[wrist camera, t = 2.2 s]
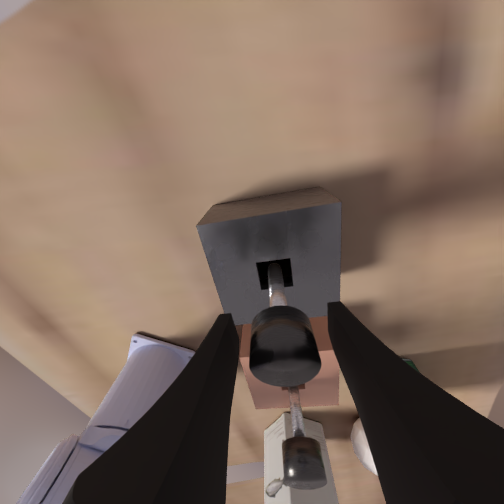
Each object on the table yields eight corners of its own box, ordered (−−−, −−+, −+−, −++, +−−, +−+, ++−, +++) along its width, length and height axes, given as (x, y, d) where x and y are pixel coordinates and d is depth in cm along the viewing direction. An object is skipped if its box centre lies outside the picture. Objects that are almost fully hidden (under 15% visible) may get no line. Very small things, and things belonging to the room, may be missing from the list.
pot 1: (322, 278, 20) (339, 314, 16) (235, 288, 22) (228, 325, 17) (319, 186, 16) (341, 201, 12) (212, 205, 18) (196, 225, 13)
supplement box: (283, 410, 32) (295, 550, 21) (322, 422, 34) (353, 561, 22) (262, 429, 36) (262, 560, 24) (299, 440, 37) (315, 569, 26)
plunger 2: (307, 382, 22) (327, 489, 15) (278, 384, 22) (286, 489, 15) (305, 364, 20) (327, 473, 14) (275, 367, 21) (281, 474, 14)
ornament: (352, 404, 31) (410, 454, 25) (370, 402, 34) (424, 445, 28) (335, 446, 30) (389, 507, 24) (355, 439, 34) (406, 491, 28)
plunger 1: (296, 282, 16) (322, 384, 9) (258, 287, 16) (255, 388, 9) (292, 248, 14) (320, 338, 8) (251, 254, 15) (242, 345, 8)
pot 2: (325, 361, 26) (338, 404, 22) (256, 366, 27) (255, 409, 23) (324, 309, 22) (339, 349, 18) (243, 317, 23) (239, 357, 19)
